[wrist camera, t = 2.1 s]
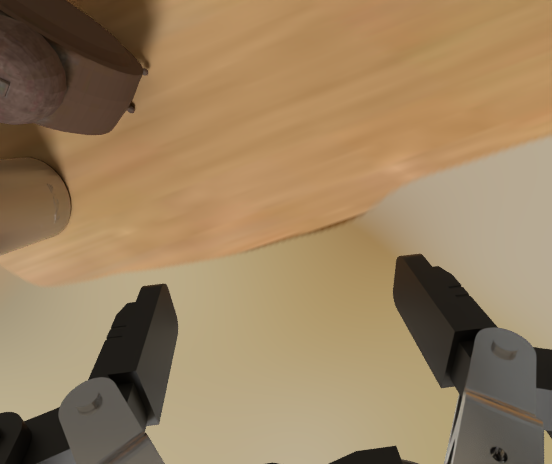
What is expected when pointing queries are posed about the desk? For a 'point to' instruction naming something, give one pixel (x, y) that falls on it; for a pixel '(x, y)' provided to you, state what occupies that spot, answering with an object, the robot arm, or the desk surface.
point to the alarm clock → (62, 69)
